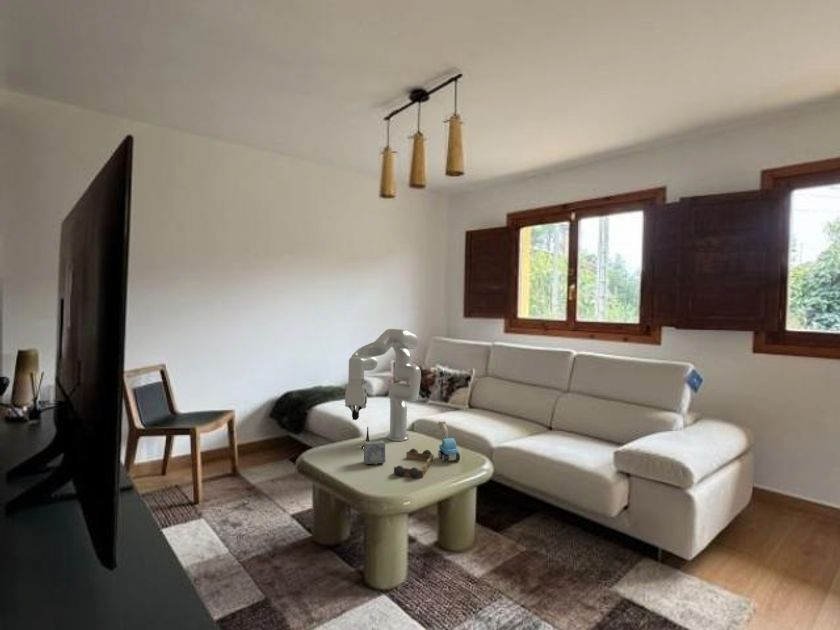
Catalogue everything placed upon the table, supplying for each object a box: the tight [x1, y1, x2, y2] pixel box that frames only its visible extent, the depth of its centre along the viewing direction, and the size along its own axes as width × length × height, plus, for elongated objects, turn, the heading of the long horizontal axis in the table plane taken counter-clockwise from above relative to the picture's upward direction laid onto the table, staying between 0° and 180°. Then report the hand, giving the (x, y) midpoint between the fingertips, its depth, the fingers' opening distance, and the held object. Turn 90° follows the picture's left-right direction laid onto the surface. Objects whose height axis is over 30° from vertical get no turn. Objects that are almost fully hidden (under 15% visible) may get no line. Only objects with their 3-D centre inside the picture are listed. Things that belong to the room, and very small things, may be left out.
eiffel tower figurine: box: [361, 426, 371, 451], centre depth 243 cm, size 15×10×13 cm
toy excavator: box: [437, 420, 461, 463], centre depth 231 cm, size 9×17×17 cm, turn 18°
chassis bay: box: [393, 448, 434, 479], centre depth 218 cm, size 26×14×4 cm, turn 166°
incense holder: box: [363, 440, 386, 466], centre depth 222 cm, size 10×8×10 cm
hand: (355, 419), depth 224 cm, fingers closed
